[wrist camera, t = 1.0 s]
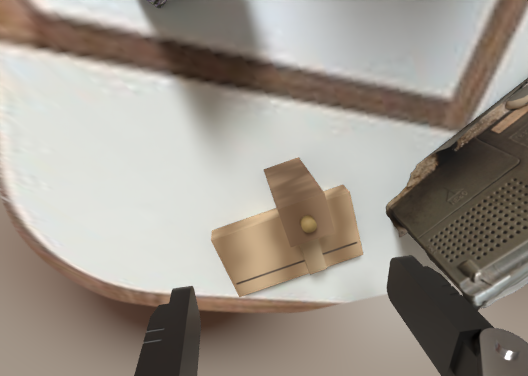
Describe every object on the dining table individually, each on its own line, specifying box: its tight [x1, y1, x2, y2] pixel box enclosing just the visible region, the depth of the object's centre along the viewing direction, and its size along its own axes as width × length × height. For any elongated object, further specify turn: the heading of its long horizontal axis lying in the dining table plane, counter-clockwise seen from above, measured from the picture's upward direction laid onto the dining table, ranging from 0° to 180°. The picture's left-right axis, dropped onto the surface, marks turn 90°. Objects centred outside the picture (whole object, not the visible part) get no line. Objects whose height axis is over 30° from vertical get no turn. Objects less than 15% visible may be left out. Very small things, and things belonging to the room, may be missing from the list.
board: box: [211, 185, 363, 297], centre depth 35 cm, size 16×9×2 cm, turn 108°
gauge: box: [264, 157, 335, 274], centre depth 30 cm, size 4×12×10 cm, turn 18°
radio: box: [386, 78, 528, 311], centre depth 28 cm, size 23×9×15 cm, turn 130°
